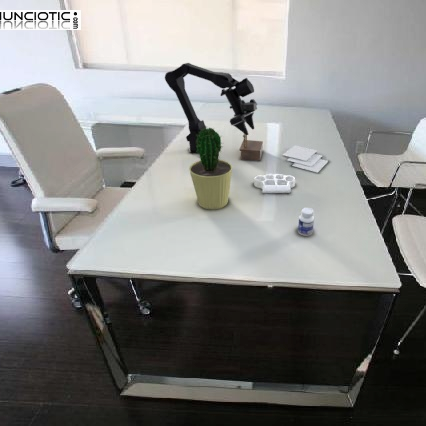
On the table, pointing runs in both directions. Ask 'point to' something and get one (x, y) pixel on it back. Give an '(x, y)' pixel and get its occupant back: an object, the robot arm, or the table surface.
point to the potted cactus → (210, 172)
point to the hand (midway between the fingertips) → (250, 132)
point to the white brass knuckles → (274, 183)
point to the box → (251, 155)
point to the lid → (250, 145)
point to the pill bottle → (306, 222)
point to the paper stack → (305, 158)
